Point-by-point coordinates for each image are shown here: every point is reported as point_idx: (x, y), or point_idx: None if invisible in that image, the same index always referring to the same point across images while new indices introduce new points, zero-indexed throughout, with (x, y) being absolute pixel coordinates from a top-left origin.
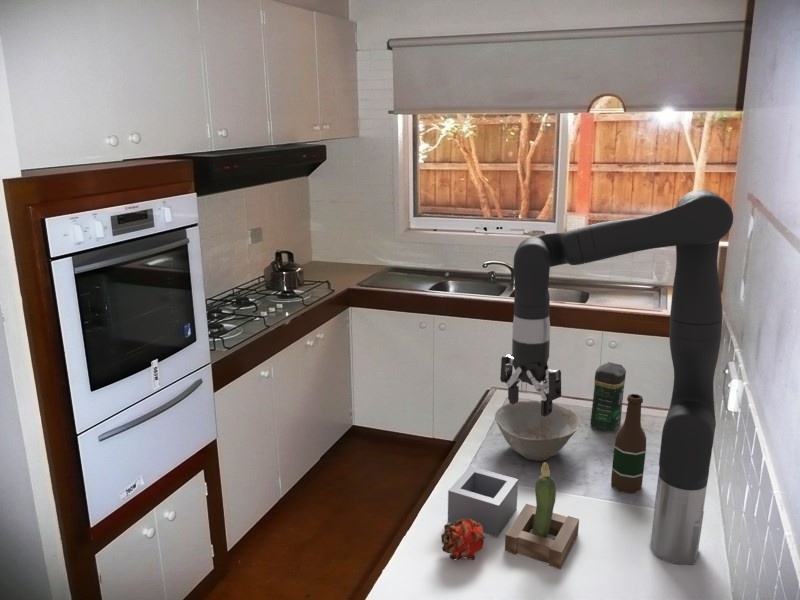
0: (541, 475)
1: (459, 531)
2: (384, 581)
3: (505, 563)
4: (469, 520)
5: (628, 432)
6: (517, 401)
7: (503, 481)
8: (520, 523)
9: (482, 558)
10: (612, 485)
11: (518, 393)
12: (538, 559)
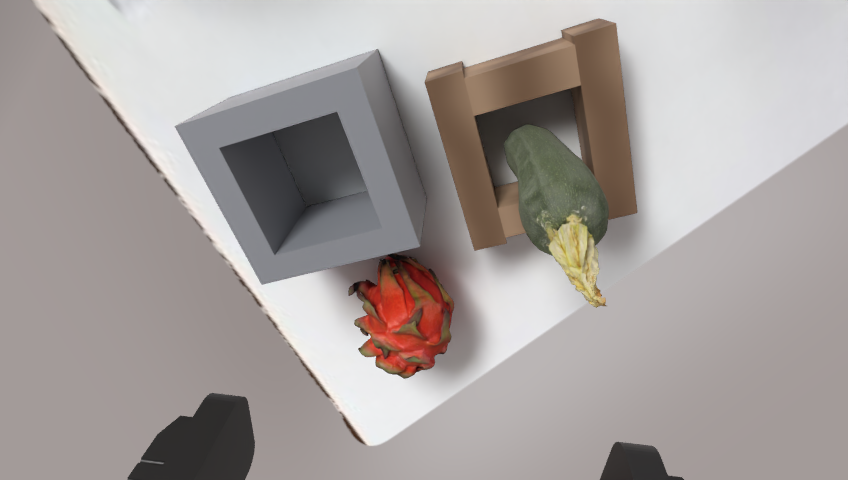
0: (546, 230)
1: (410, 363)
2: (365, 424)
3: (501, 258)
4: (403, 333)
5: None
6: (243, 406)
7: (326, 114)
8: (475, 184)
9: (451, 278)
10: None
11: (199, 473)
12: None
